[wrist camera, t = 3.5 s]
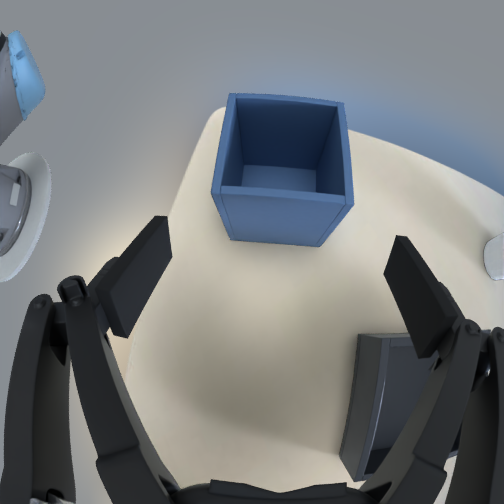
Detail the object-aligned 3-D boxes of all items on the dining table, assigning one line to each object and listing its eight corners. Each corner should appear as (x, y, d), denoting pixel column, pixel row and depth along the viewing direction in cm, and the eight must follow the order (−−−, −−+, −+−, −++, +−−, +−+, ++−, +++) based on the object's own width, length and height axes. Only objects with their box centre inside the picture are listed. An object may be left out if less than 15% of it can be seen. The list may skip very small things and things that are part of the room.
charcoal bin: (338, 456, 22) (353, 482, 16) (358, 333, 25) (382, 337, 19) (440, 436, 21) (465, 451, 15) (459, 329, 24) (491, 329, 18)
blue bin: (230, 240, 27) (210, 193, 16) (239, 162, 29) (229, 92, 18) (320, 247, 27) (354, 205, 16) (320, 169, 29) (343, 102, 18)
